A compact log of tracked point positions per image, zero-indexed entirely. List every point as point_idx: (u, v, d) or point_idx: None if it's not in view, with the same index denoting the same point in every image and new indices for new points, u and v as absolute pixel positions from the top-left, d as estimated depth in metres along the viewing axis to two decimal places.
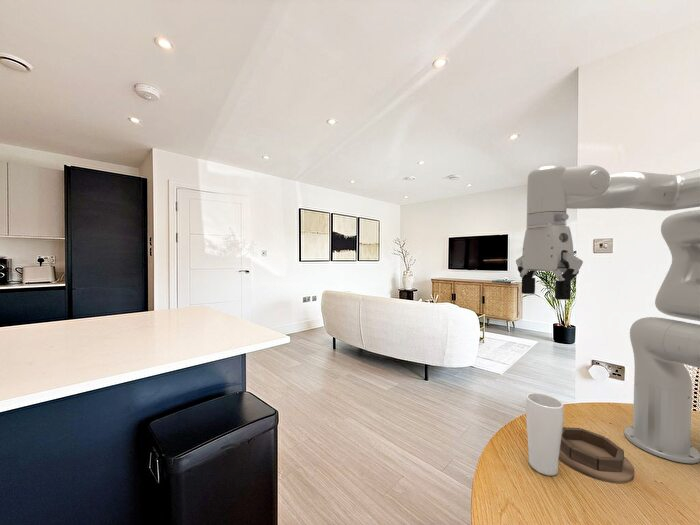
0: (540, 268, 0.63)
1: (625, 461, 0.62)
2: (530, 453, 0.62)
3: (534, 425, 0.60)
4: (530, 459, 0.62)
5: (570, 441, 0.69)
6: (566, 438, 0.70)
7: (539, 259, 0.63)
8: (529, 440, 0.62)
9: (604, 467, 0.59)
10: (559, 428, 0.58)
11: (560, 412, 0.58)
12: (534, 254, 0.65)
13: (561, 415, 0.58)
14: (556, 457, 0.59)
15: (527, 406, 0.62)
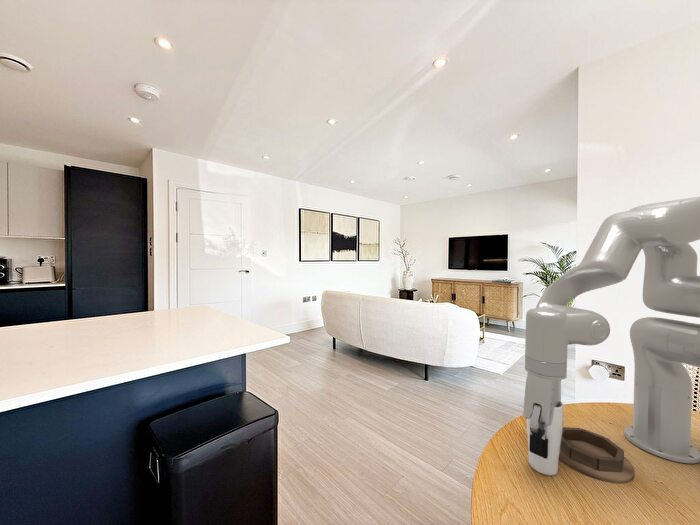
0: None
1: (625, 461, 0.62)
2: (530, 453, 0.62)
3: None
4: (530, 459, 0.62)
5: (570, 441, 0.69)
6: (566, 438, 0.70)
7: None
8: (529, 439, 0.62)
9: (604, 467, 0.59)
10: (559, 428, 0.58)
11: (560, 412, 0.58)
12: (557, 404, 0.59)
13: (561, 415, 0.58)
14: (556, 457, 0.59)
15: None
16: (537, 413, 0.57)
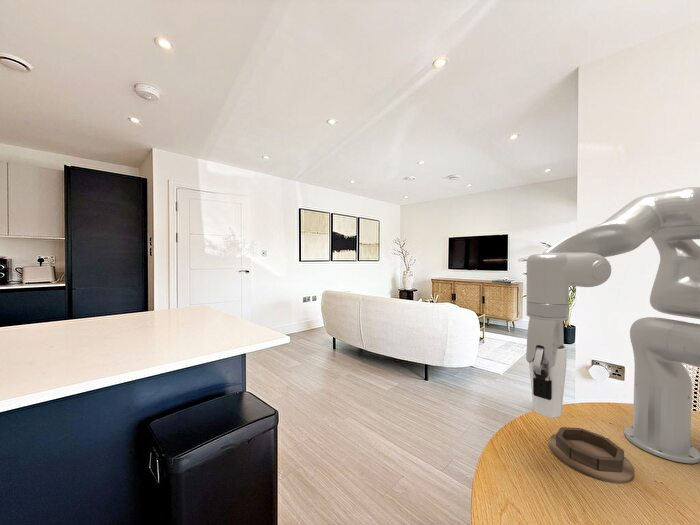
0: None
1: (625, 461, 0.62)
2: (534, 398, 0.62)
3: None
4: (534, 404, 0.62)
5: (570, 441, 0.69)
6: (566, 438, 0.70)
7: None
8: (532, 385, 0.62)
9: (604, 467, 0.59)
10: (562, 370, 0.58)
11: (563, 354, 0.58)
12: (560, 347, 0.59)
13: (564, 357, 0.58)
14: (560, 399, 0.59)
15: None
16: (540, 354, 0.57)
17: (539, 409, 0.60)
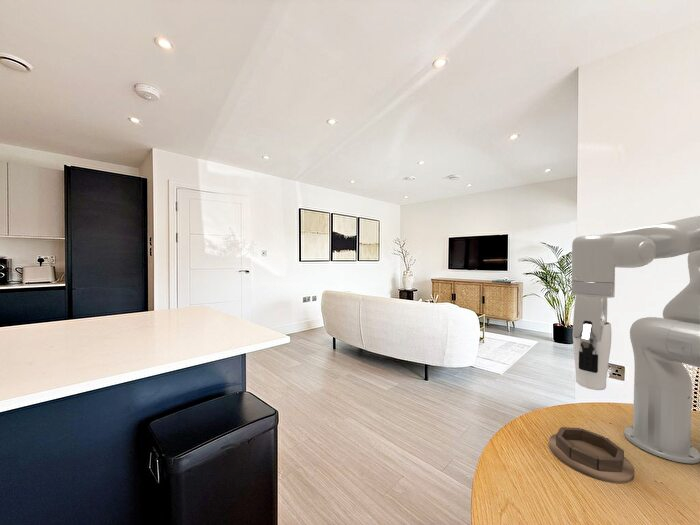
0: None
1: (625, 461, 0.62)
2: (578, 372, 0.65)
3: None
4: (578, 378, 0.65)
5: (570, 441, 0.69)
6: (566, 438, 0.70)
7: None
8: (577, 360, 0.65)
9: (604, 467, 0.59)
10: (608, 344, 0.62)
11: (609, 329, 0.62)
12: (605, 323, 0.63)
13: (610, 332, 0.62)
14: (605, 372, 0.62)
15: None
16: (588, 329, 0.61)
17: (584, 382, 0.64)
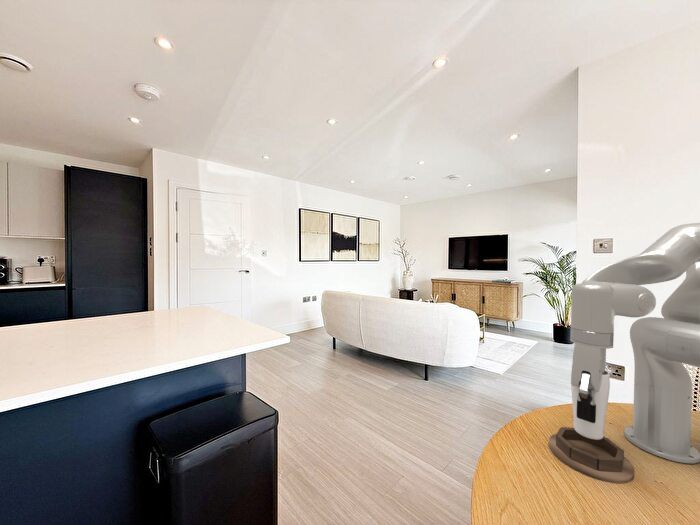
0: None
1: (625, 461, 0.62)
2: (576, 420, 0.65)
3: None
4: (576, 425, 0.65)
5: (570, 441, 0.69)
6: (566, 438, 0.70)
7: None
8: (575, 407, 0.65)
9: (604, 467, 0.59)
10: (606, 394, 0.62)
11: (607, 379, 0.62)
12: (603, 373, 0.63)
13: (608, 382, 0.62)
14: (603, 422, 0.62)
15: None
16: (586, 380, 0.61)
17: (581, 430, 0.64)
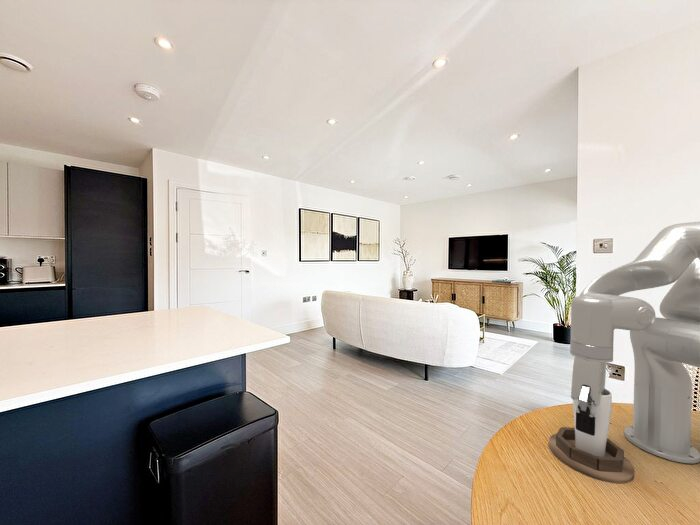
0: None
1: (625, 461, 0.62)
2: (578, 439, 0.65)
3: None
4: (577, 444, 0.65)
5: (570, 441, 0.69)
6: (566, 438, 0.70)
7: None
8: None
9: (604, 467, 0.59)
10: (608, 415, 0.62)
11: (609, 400, 0.62)
12: (603, 386, 0.63)
13: (610, 402, 0.62)
14: (604, 442, 0.62)
15: None
16: (586, 391, 0.60)
17: (583, 450, 0.64)
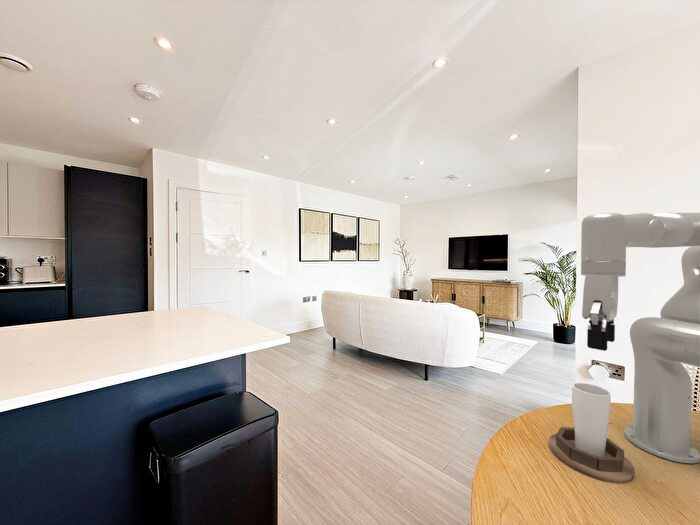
0: (614, 316, 0.63)
1: (625, 461, 0.62)
2: (577, 439, 0.65)
3: (582, 412, 0.63)
4: (577, 445, 0.65)
5: (570, 441, 0.69)
6: (566, 438, 0.70)
7: (616, 308, 0.62)
8: (576, 426, 0.65)
9: (604, 467, 0.59)
10: (607, 415, 0.62)
11: (608, 400, 0.62)
12: (616, 303, 0.61)
13: (609, 402, 0.62)
14: (604, 442, 0.62)
15: (574, 395, 0.65)
16: (598, 305, 0.59)
17: (583, 450, 0.64)
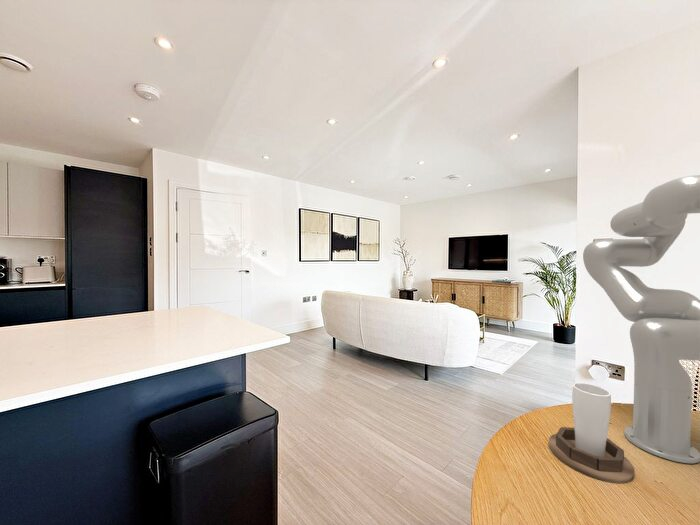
0: None
1: (625, 461, 0.62)
2: (577, 439, 0.65)
3: (582, 412, 0.63)
4: (577, 445, 0.65)
5: (570, 441, 0.69)
6: (566, 438, 0.70)
7: None
8: (576, 426, 0.65)
9: (604, 467, 0.59)
10: (607, 415, 0.62)
11: (608, 400, 0.62)
12: None
13: (609, 403, 0.62)
14: (604, 442, 0.62)
15: (574, 395, 0.65)
16: None
17: (583, 450, 0.64)
